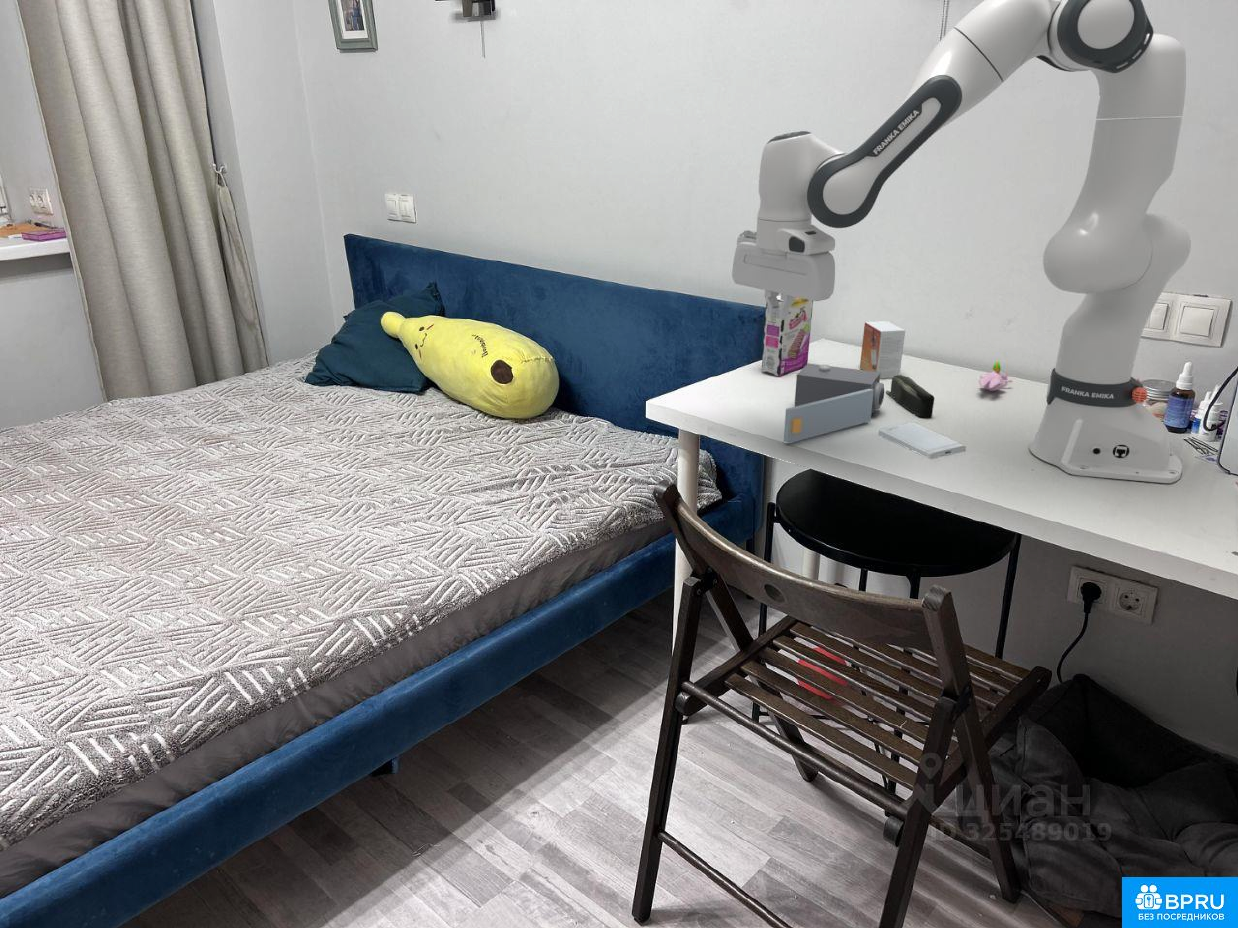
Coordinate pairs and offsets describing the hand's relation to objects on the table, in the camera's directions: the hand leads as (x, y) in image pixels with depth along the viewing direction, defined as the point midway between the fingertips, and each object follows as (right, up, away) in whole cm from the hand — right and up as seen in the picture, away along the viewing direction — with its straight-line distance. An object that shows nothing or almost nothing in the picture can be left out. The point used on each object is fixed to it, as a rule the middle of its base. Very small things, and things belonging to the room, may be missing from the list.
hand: (778, 318), depth 155 cm
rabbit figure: (+48, -10, +28) cm, 57 cm away
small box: (+29, -6, +39) cm, 49 cm away
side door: (+10, -19, +6) cm, 23 cm away
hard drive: (+25, -22, +3) cm, 34 cm away
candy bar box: (+9, -5, +42) cm, 43 cm away
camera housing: (+14, -14, +19) cm, 28 cm away
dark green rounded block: (+29, -14, +20) cm, 38 cm away
